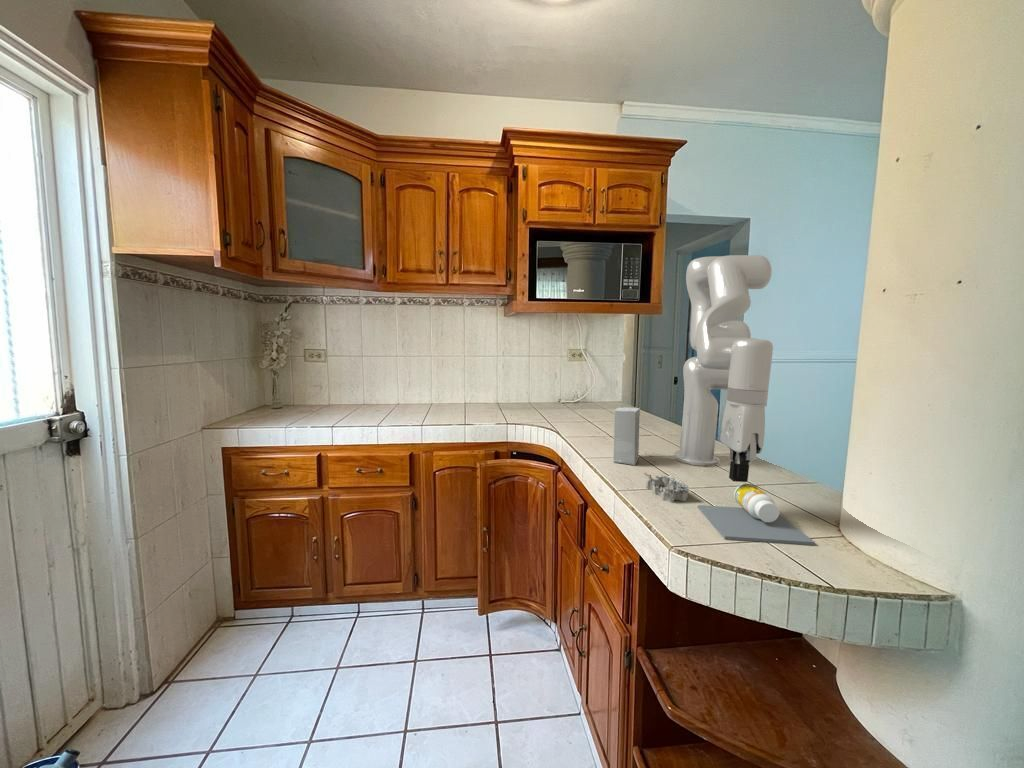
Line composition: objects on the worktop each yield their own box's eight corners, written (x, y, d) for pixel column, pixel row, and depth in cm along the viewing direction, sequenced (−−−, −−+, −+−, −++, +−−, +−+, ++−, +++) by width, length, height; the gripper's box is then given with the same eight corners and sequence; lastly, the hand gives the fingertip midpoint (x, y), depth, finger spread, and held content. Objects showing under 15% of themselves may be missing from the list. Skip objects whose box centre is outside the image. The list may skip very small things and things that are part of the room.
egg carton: (641, 486, 103) (642, 471, 103) (668, 485, 104) (669, 470, 104) (663, 503, 93) (664, 486, 93) (692, 502, 94) (693, 485, 94)
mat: (697, 507, 91) (698, 504, 91) (773, 512, 90) (773, 509, 90) (724, 539, 77) (725, 536, 77) (814, 545, 76) (815, 542, 76)
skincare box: (635, 466, 118) (638, 412, 116) (610, 462, 121) (613, 409, 119) (639, 458, 126) (642, 407, 124) (615, 454, 129) (618, 405, 127)
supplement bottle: (728, 493, 91) (748, 512, 82) (747, 477, 91) (770, 494, 81) (745, 510, 91) (767, 531, 82) (764, 494, 91) (789, 513, 81)
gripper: (714, 391, 95) (707, 468, 97) (745, 402, 80) (735, 492, 83) (748, 392, 94) (740, 470, 97) (785, 404, 80) (774, 494, 82)
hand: (738, 480), depth 90 cm, fingers closed
